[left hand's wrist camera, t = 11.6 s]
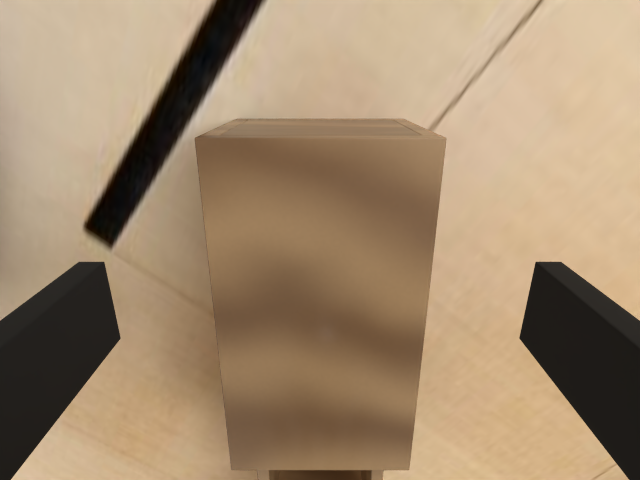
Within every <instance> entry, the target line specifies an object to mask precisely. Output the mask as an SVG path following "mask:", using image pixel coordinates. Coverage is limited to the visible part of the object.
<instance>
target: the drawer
mask: <svg viewBox="0 0 640 480" xmlns="http://www.w3.org/2000/svg"><path fill="white" fill-rule="evenodd" d="M257 473H258V480H383V470H257Z"/></svg>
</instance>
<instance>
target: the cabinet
mask: <svg viewBox="0 0 640 480" xmlns="http://www.w3.org/2000/svg"><path fill="white" fill-rule="evenodd" d="M195 145H196V154H197V163H198V172H199V181H200V190H201V199H202V208H203V217H204V226H205V235H206V244H207V253H208V262H209V271H210V281H211V290H212V299H213V308H214V317H215V326H216V335H217V344H218V353H219V362H220V371H221V380H222V389H223V398H224V407H225V416H226V425H227V434H228V443H229V452H230V461H231V470H409V467H410V458H411V449H412V440H413V431H414V423H415V414H416V405H417V396H418V387H419V378H420V369H421V360H422V351H423V342H424V333H425V324H426V315H427V307H428V298H429V289H430V280H431V271H432V262H433V253H434V244H435V235H436V226H437V217H438V208H439V200H440V191H441V182H442V173H443V164H444V155H445V146H446V138H445V137H443V136H441V135H438V134H436V133H433V132H431V131H429V130H427V129H425V128H422V127H420V126H418V125H416V124H414V123H411V122H409V121H407V120H405V119H236V120H233V121H231V122H229V123H227V124H224V125H222V126H220V127H218V128H216V129H213V130H211V131H209V132H207V133H205V134H202V135H200V136H198V137H196V138H195Z"/></svg>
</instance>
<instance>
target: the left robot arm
mask: <svg viewBox="0 0 640 480" xmlns="http://www.w3.org/2000/svg"><path fill="white" fill-rule="evenodd" d="M119 340H120V333H119V329H118V324H117V319H116V315H115V310H114V305H113V301H112V296H111V291H110V287H109V282H108V277H107V273H106V268H105V263H104V262H78V263H77V264H76V265H74V266H73V267H72V268H70V269H69V270H68V271H66V272H65V273H64V274H62V275H61V276H60V277H58V278H57V279H56V280H54V281H53V282H52V283H50V284H49V285H48V286H46V287H45V288H44V289H42V290H41V291H40V292H38V293H37V294H35V295H34V296H33V297H31V298H30V299H29V300H27V301H26V302H25V303H23V304H22V305H21V306H19V307H18V308H17V309H15V310H14V311H13V312H11V313H10V314H9V315H7V316H6V317H5V318H3V319H2V320H1V321H0V480H11V479H12V477H13V476H14V475H15V473H16V472H17V471H18V470H19V468H20V467H21V466H22V464H23V463H24V462H25V461H26V459H27V458H28V457H29V455H30V454H31V453H32V452H33V450H34V449H35V448H36V446H37V445H38V444H39V443H40V441H41V440H42V439H43V437H44V436H45V435H46V434H47V432H48V431H49V430H50V428H51V427H52V426H53V425H54V423H55V422H56V421H57V419H58V418H59V417H60V416H61V414H62V413H63V412H64V410H65V409H66V408H67V407H68V405H69V404H70V403H71V401H72V400H73V399H74V398H75V396H76V395H77V394H78V392H79V391H80V390H81V389H82V387H83V386H84V385H85V383H86V382H87V381H88V380H89V378H90V377H91V376H92V374H93V373H94V372H95V371H96V369H97V368H98V367H99V365H100V364H101V363H102V361H103V360H104V359H105V358H106V356H107V355H108V354H109V352H110V351H111V350H112V349H113V347H114V346H115V345H116V343H117V342H118V341H119ZM520 340H521V341H522V342H523V343H524V345H525V346H526V347H527V349H528V350H529V351H530V352H531V354H532V355H533V356H534V358H535V359H536V360H537V361H538V363H539V364H540V365H541V367H542V368H543V369H544V371H545V372H546V373H547V374H548V376H549V377H550V378H551V380H552V381H553V382H554V383H555V385H556V386H557V387H558V389H559V390H560V391H561V392H562V394H563V395H564V396H565V398H566V399H567V400H568V401H569V403H570V404H571V405H572V407H573V408H574V409H575V410H576V412H577V413H578V414H579V416H580V417H581V418H582V419H583V421H584V422H585V423H586V425H587V426H588V427H589V428H590V430H591V431H592V432H593V434H594V435H595V436H596V437H597V439H598V440H599V441H600V443H601V444H602V445H603V446H604V448H605V449H606V450H607V452H608V453H609V454H610V455H611V457H612V458H613V459H614V461H615V462H616V463H617V464H618V466H619V467H620V468H621V470H622V471H623V472H624V473H625V475H626V476H627V477H628V479H629V480H640V321H639V320H638V319H637V318H635V317H634V316H633V315H631V314H630V313H629V312H627V311H626V310H625V309H623V308H622V307H621V306H619V305H618V304H617V303H615V302H614V301H613V300H611V299H610V298H609V297H607V296H606V295H605V294H603V293H602V292H600V291H599V290H598V289H596V288H595V287H594V286H592V285H591V284H590V283H588V282H587V281H586V280H584V279H583V278H582V277H580V276H579V275H578V274H576V273H575V272H574V271H572V270H571V269H570V268H568V267H567V266H566V265H564V264H563V263H562V262H536V263H535V268H534V273H533V277H532V282H531V287H530V291H529V296H528V301H527V305H526V310H525V315H524V319H523V324H522V329H521V333H520Z"/></svg>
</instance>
